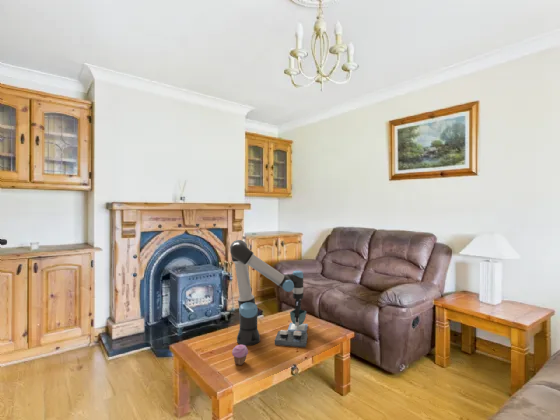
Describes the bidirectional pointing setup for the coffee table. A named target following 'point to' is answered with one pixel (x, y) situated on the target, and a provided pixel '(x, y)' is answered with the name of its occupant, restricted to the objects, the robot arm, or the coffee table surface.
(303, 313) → the flower pot
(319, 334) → the coffee table surface
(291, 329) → the pad
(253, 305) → the robot arm
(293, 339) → the breaker panel
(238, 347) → the cupcake
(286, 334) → the block
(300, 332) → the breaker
